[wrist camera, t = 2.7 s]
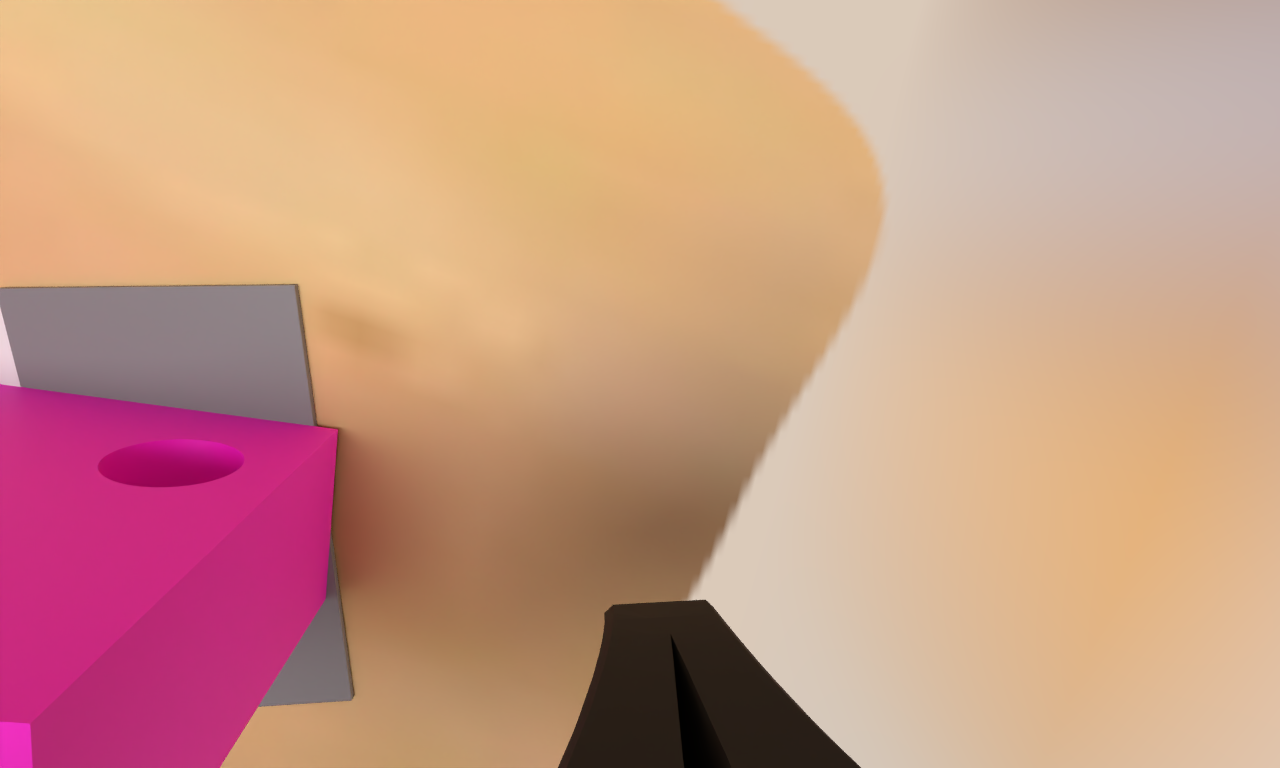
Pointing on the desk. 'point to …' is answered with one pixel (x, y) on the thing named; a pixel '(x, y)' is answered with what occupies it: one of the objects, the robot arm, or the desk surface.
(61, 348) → the board
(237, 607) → the toy block
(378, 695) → the desk surface
